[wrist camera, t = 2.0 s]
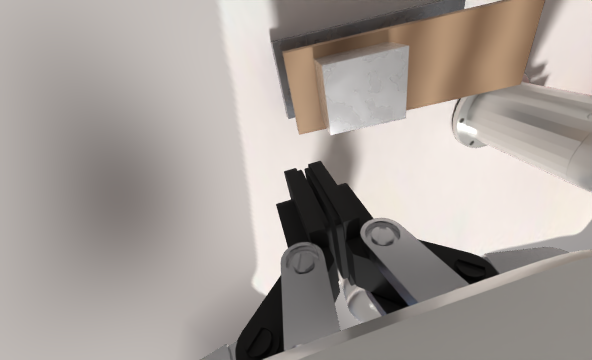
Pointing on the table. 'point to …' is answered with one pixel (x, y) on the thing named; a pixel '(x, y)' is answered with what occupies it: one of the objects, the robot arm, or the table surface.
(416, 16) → the beam stand
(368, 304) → the plastic bottle
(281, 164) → the table surface
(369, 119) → the block
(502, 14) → the balance beam
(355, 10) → the table surface
